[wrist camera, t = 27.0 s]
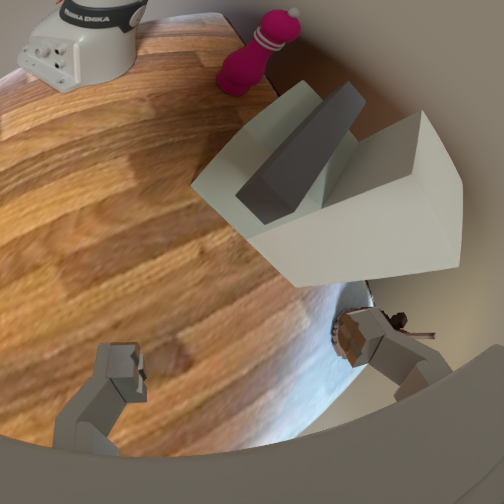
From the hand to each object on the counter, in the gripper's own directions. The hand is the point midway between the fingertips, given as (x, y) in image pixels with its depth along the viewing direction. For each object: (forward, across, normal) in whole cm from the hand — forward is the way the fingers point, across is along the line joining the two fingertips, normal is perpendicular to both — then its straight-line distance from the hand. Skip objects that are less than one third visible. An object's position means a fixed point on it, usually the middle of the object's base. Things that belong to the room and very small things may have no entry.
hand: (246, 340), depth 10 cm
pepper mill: (+46, -6, -10) cm, 48 cm away
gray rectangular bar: (+21, -10, -4) cm, 23 cm away
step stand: (+32, -11, +9) cm, 35 cm away
